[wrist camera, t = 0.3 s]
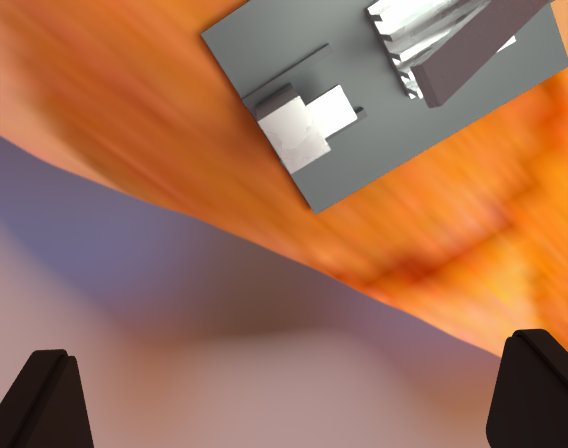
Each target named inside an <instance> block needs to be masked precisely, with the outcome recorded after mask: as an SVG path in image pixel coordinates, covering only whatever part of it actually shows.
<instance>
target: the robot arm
mask: <svg viewBox="0 0 568 448" xmlns="http://www.w3.org/2000/svg"><path fill="white" fill-rule="evenodd" d="M486 435H487V440H488V442H489V445H490V446H491V448H568V352H567V351H566V350H565V349H564V348H563V347H562V346H561V345H560V344H559V343H558V342H557V341H556V340H555V339H554V338H553V337H552V336H551V335H550V334H549V333H548V332H547V331H546V330H544V329H525V330H516V331H515V332H514V333H513V335H512V337H508V338H507V339H506V342H505V346H504V350H503V355H502V359H501V363H500V368H499V372H498V377H497V381H496V385H495V389H494V394H493V398H492V402H491V407H490V411H489V416H488V420H487V424H486ZM0 448H94V445H93V440H92V435H91V430H90V425H89V420H88V415H87V410H86V405H85V400H84V395H83V390H82V385H81V380H80V375H79V370H78V365H77V361H76V358H75V356H68V354H67V352H66V350H63V349H58V350H57V349H56V350H36V351H34V352H33V353H32V355H30V357H29V359H28V360H27V362H26V364H25V365H24V367H23V368H22V370H21V371H20V373H19V375H18V376H17V378H16V380H15V381H14V383H13V384H12V386H11V388H10V389H9V391H8V392H7V394H6V395H5V397H4V399H3V400H2V402H1V403H0Z"/></svg>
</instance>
